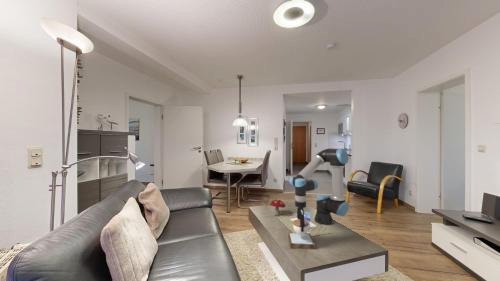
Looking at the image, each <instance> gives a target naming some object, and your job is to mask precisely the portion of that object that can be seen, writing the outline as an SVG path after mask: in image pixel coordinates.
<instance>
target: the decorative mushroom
mask: <svg viewBox="0 0 500 281" xmlns="http://www.w3.org/2000/svg"><path fill="white" fill-rule="evenodd" d="M268 203H269V204H268V205H269V206H271V207H275V208H274V212H273V213H274V216H276V217H277V216H280V214H281V213H280V209H279V208H286V203H284V202H283V201H282V200H281V199H279V198H277V199H273V200H272V201H270V202H268Z"/></svg>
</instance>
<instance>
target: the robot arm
mask: <svg viewBox="0 0 500 281" xmlns="http://www.w3.org/2000/svg"><path fill="white" fill-rule="evenodd" d="M348 162H349V154H348V152H347V151H346V150H345V149H340V148H325V149H323V150H321V151H318V152H317V153H316V154H315V156H313V159H312V160H311V161H310V162H309V163H308V164H306V166H305V167H304V168H303V169H302V170H300V171H299V173H298V174H297V175H296V176H290V177H289V180H288V181H289V182H288V183H289V185H290V186H291V187H294V200H295V201H294V206H295V207H296V208H297V211H296V212H297V213H296V217H297V219H300V226H299V227H300V236H304V227H305V222H304V220H305V209H304V208H306V207H307V192H310V191H314V190H317V189H318V187H319V183H318V181H317V180H316V179H312V178H311V179H309V178H310V177H311V175H312V174H313V173H314V172H315V171H316V170H317V169H319V167H320V166H321V165H324V164H325V163H329V166H330V167H331V195H330V194H318V195H317V196H316V212H315V215H314V222H315V223H317V224H320V225H324V226H328V225H332V224H333V222H334V221H333V217H332V214H333V215H334V214H335V215H336V216H340V217H344V216H346V215H347V213H348V211H349V207H350V206H349V203H348V202H347V201H346V198H345V197H344V168H345V167H346V165H347V164H348ZM297 219H296V220H297Z"/></svg>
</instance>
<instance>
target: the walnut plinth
mask: <svg viewBox="0 0 500 281" xmlns="http://www.w3.org/2000/svg"><path fill="white" fill-rule="evenodd" d="M287 236H288V243H289V248H290V249H297V250H298V249H303V250H305V249H306V250H316V245H315V242H314V240H313V237H312V236H311V233H305V235H304V236H300V235H298V234H297V233H296V232H288V233H287Z"/></svg>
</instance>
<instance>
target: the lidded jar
mask: <svg viewBox="0 0 500 281" xmlns="http://www.w3.org/2000/svg"><path fill="white" fill-rule="evenodd" d="M304 222H305V227H304V235H305V233H307V232H308V230H309V221H307V220H306V219H304ZM299 226H300V219H294V220H292V229H293V231H294V233H297V234H298V235H300V227H299Z"/></svg>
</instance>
